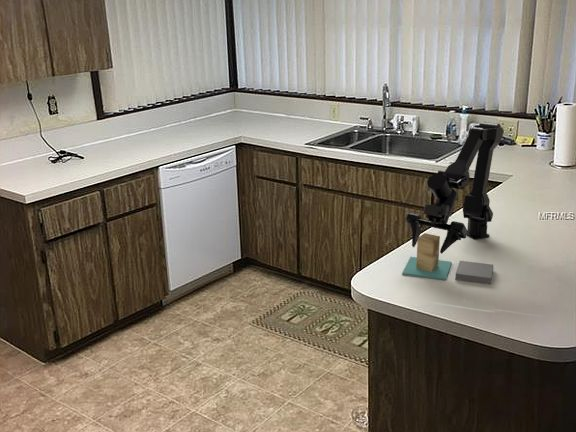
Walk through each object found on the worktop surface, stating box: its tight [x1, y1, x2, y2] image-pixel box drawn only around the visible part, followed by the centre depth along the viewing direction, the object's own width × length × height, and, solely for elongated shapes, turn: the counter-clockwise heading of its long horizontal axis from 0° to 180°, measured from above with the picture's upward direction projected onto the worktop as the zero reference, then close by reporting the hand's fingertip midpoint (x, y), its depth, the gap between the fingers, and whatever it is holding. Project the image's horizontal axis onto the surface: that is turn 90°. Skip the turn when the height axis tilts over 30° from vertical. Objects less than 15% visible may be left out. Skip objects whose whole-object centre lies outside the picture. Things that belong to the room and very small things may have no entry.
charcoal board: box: [454, 260, 494, 285], centre depth 191 cm, size 10×10×2 cm
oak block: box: [416, 233, 441, 272], centre depth 195 cm, size 5×5×10 cm
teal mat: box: [401, 256, 452, 281], centre depth 196 cm, size 13×13×1 cm
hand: (426, 249), depth 193 cm, fingers open, 9 cm apart
